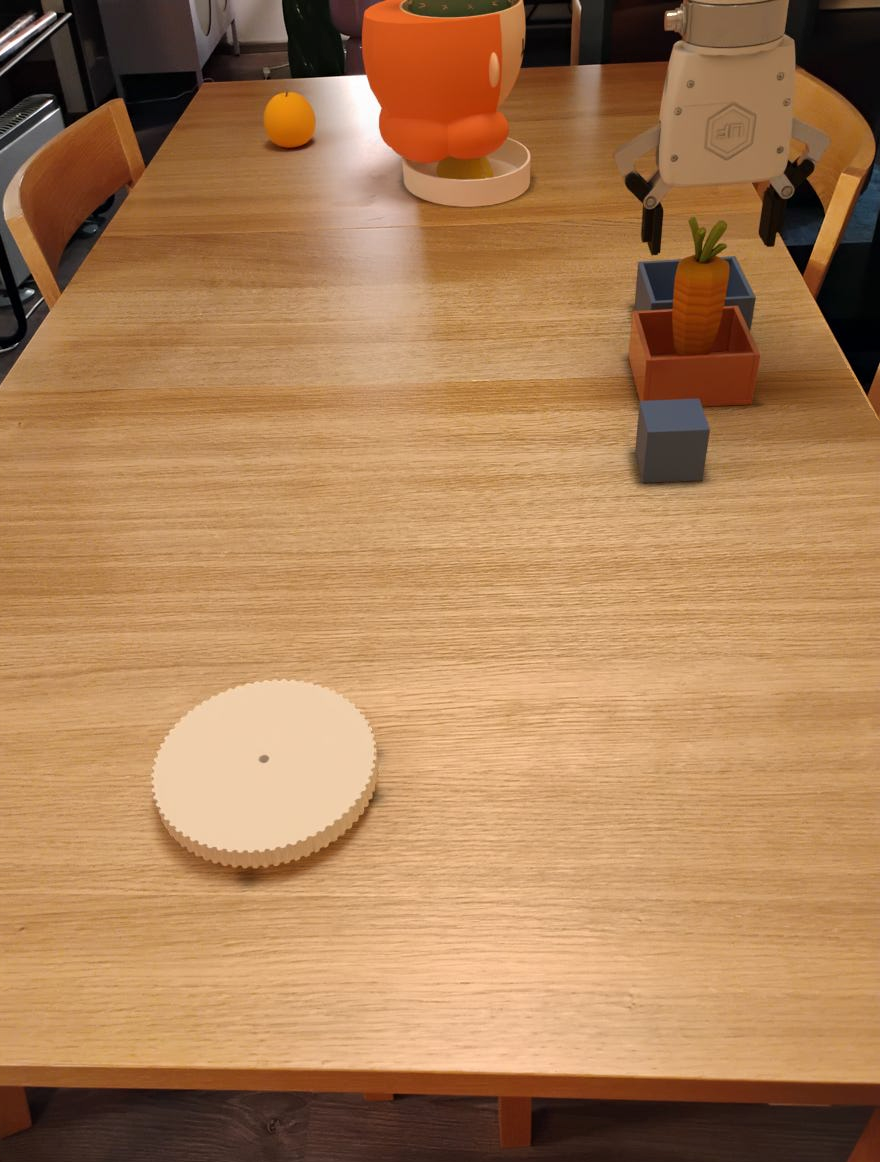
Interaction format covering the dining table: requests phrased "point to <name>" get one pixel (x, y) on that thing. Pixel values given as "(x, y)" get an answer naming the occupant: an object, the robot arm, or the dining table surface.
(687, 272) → the carrot
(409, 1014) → the dining table surface
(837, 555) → the dining table surface
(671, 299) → the blue bin
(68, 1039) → the dining table surface
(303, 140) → the orange
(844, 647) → the dining table surface
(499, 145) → the potted cactus
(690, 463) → the block
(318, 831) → the beige gear wheel
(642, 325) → the terracotta bin
